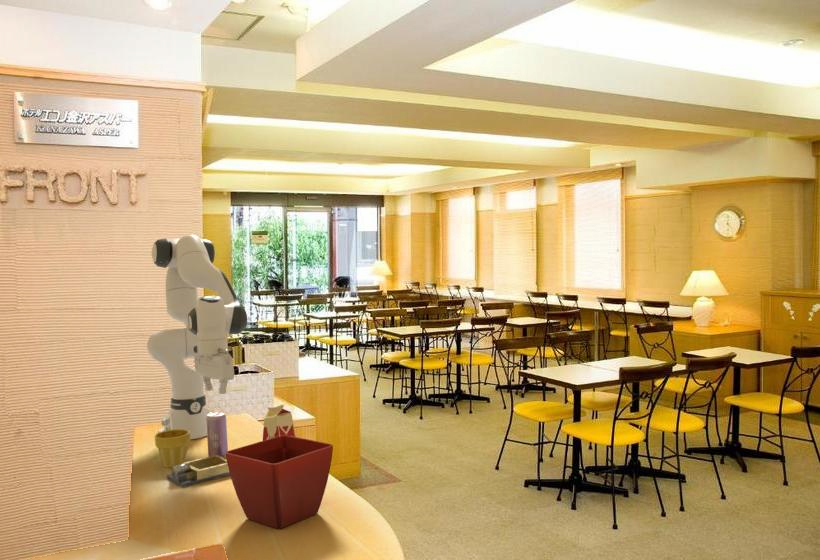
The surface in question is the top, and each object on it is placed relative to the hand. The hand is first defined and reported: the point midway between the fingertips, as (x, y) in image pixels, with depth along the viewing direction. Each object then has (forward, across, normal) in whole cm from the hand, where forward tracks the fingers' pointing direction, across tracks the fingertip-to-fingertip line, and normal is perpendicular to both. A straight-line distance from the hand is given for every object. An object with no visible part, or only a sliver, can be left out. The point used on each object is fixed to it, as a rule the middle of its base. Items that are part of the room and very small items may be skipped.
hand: (215, 392), depth 215 cm
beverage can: (+22, 0, 0) cm, 22 cm away
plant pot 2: (+23, -54, +10) cm, 60 cm away
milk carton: (+22, -23, -9) cm, 33 cm away
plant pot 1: (+22, +9, +11) cm, 26 cm away
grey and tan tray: (+22, -9, +8) cm, 25 cm away
